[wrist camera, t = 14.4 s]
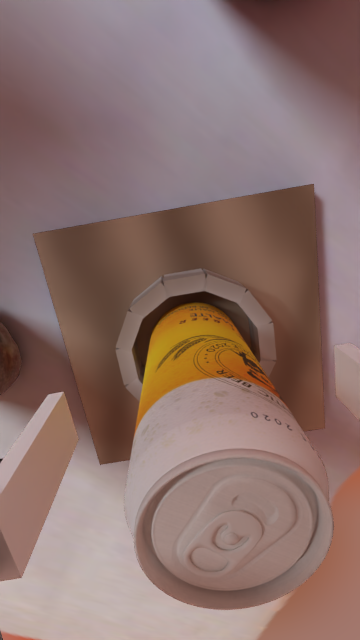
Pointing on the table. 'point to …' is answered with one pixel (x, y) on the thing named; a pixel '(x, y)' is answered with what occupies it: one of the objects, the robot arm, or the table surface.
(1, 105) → the table surface
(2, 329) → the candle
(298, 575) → the beer can
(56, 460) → the robot arm
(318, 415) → the can holder
